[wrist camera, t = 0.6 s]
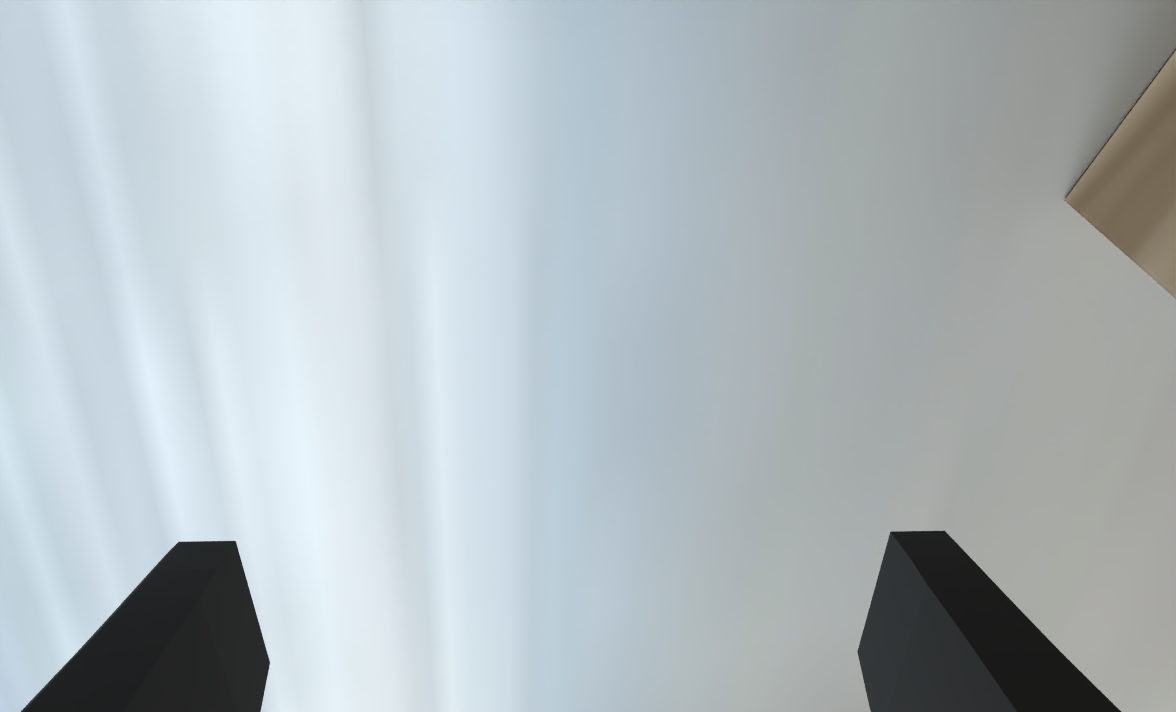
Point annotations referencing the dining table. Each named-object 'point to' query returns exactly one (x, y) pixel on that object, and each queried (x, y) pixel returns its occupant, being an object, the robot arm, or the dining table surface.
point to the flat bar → (1138, 183)
